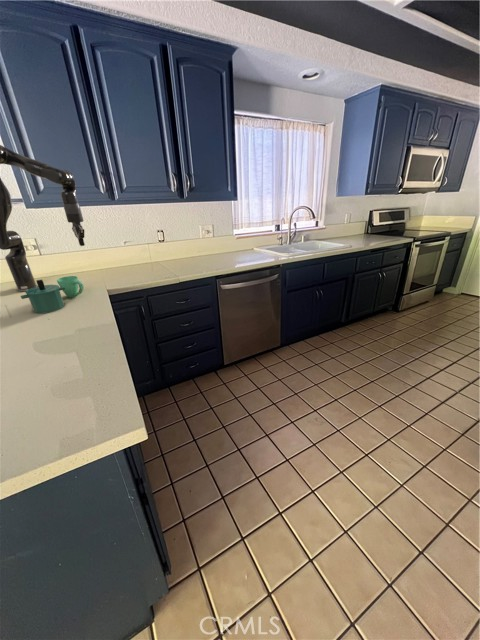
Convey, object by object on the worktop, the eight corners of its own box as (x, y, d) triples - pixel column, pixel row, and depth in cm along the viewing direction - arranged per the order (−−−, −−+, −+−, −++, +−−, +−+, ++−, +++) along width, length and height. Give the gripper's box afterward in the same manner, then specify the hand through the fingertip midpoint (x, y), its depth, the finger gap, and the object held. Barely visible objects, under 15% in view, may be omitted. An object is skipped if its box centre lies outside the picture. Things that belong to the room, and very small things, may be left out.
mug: (58, 297, 145) (52, 280, 141) (73, 292, 153) (68, 275, 149) (78, 301, 140) (72, 283, 136) (93, 294, 149) (88, 277, 144)
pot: (24, 310, 131) (17, 291, 126) (65, 299, 142) (60, 283, 138) (30, 317, 123) (23, 298, 119) (73, 306, 134) (67, 288, 130)
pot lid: (23, 291, 128) (19, 280, 126) (55, 284, 137) (51, 274, 135) (29, 298, 120) (25, 286, 118) (63, 290, 129) (59, 279, 126)
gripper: (61, 212, 143) (71, 245, 151) (69, 213, 135) (79, 248, 142) (76, 211, 148) (85, 243, 155) (85, 212, 140) (93, 246, 147)
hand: (82, 245), depth 149 cm, fingers closed
